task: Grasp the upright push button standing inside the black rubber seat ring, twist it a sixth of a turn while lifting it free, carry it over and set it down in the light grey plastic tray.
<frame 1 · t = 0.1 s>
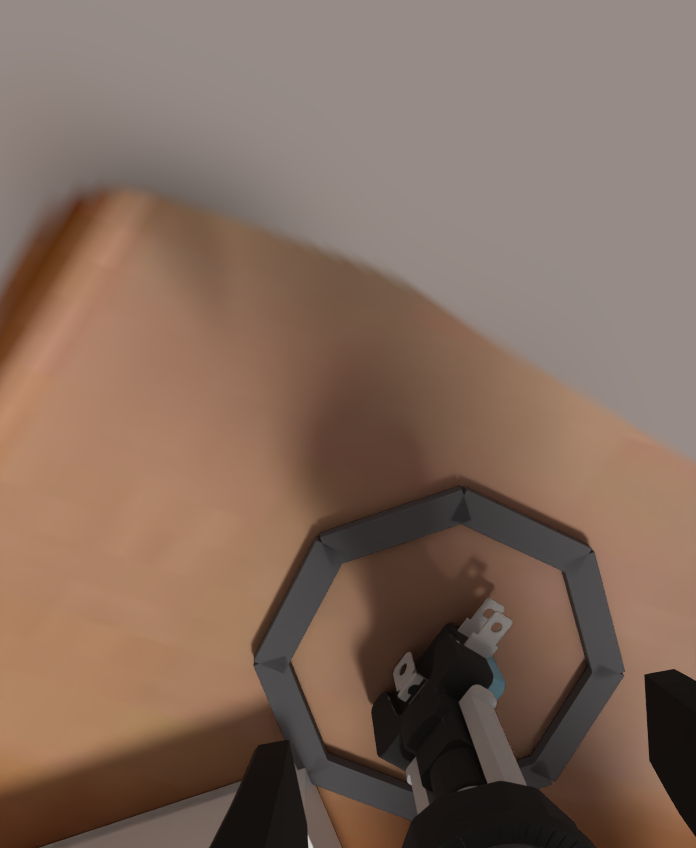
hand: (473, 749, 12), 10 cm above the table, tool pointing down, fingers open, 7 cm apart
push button: (440, 660, 23), on the table
seat ring: (441, 662, 23), on the table
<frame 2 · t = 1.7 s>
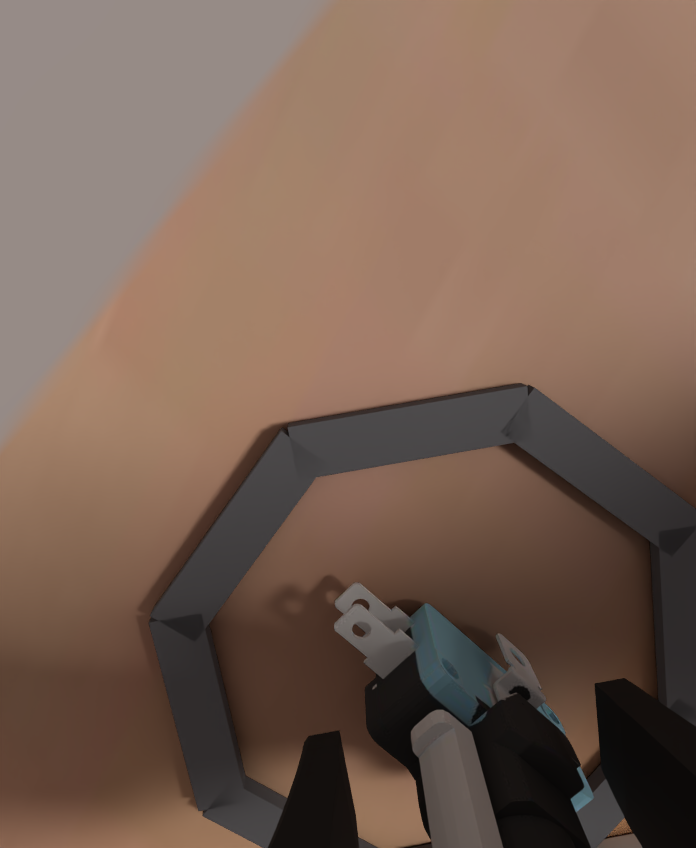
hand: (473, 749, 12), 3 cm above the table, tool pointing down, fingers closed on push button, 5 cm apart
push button: (445, 658, 15), on the table, touching gripper
seat ring: (442, 661, 15), on the table
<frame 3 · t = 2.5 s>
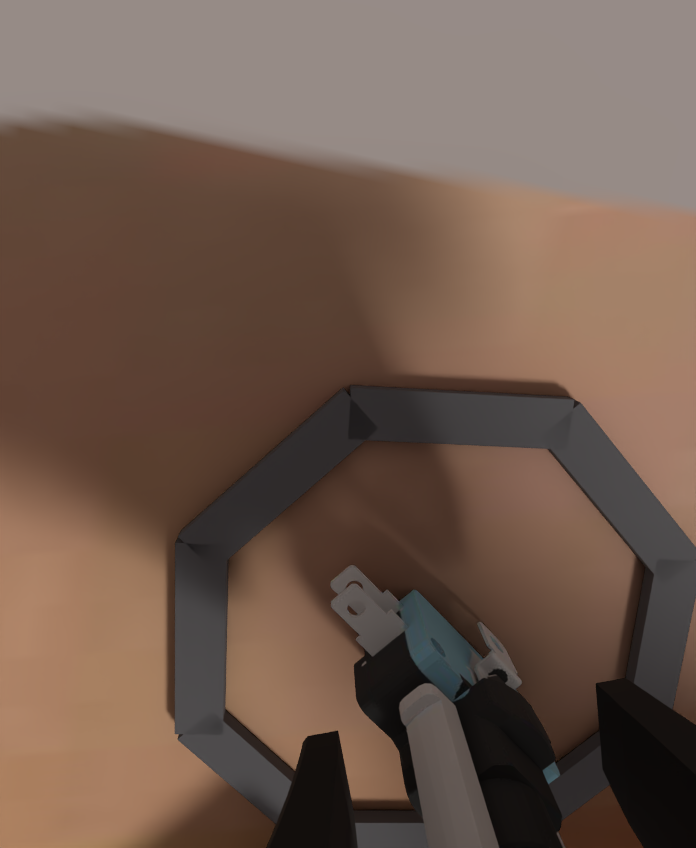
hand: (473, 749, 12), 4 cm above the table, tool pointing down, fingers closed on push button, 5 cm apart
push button: (427, 643, 16), on the table, touching gripper
seat ring: (434, 639, 16), on the table
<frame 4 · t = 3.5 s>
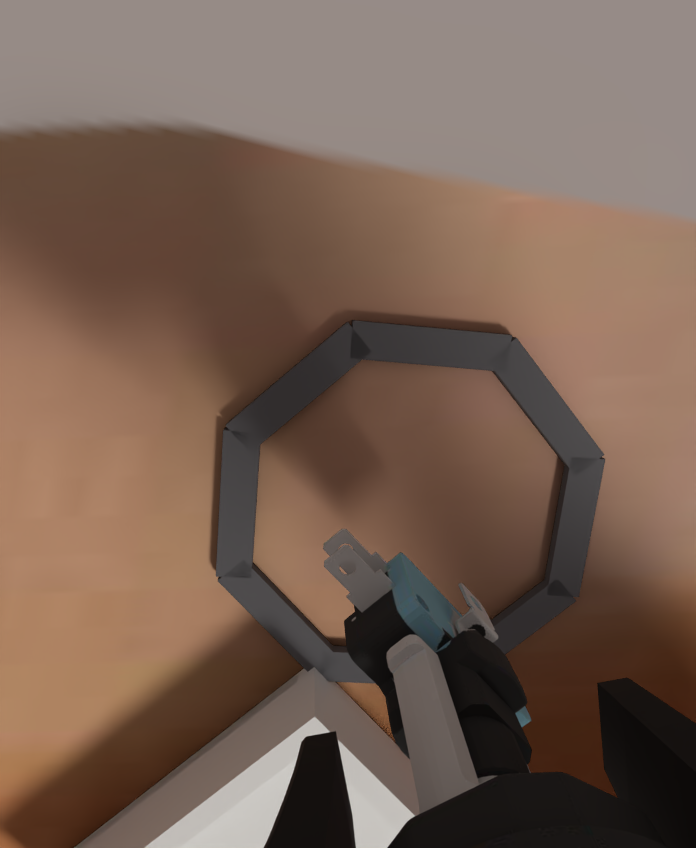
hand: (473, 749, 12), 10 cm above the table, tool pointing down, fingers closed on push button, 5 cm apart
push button: (412, 603, 17), point 5 cm above the table, touching gripper
seat ring: (408, 513, 21), on the table
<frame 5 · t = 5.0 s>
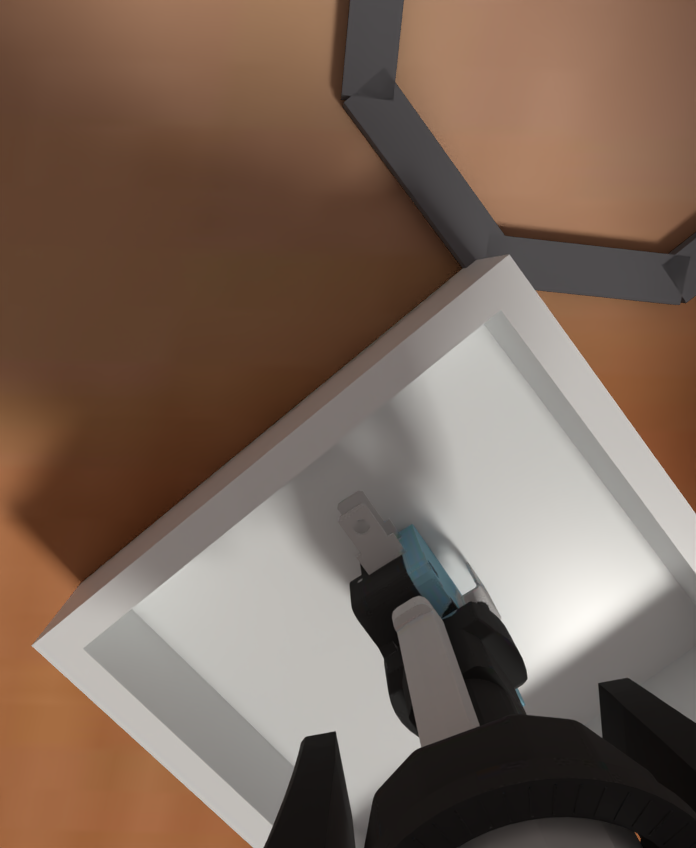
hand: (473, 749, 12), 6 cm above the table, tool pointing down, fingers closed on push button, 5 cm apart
tray: (424, 604, 17), on the table
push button: (416, 579, 17), resting in tray, touching gripper
seat ring: (624, 15, 14), on the table
when the fingers open (5 cm above the table, at t = 5.7 s): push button stays where it is, resting on tray.
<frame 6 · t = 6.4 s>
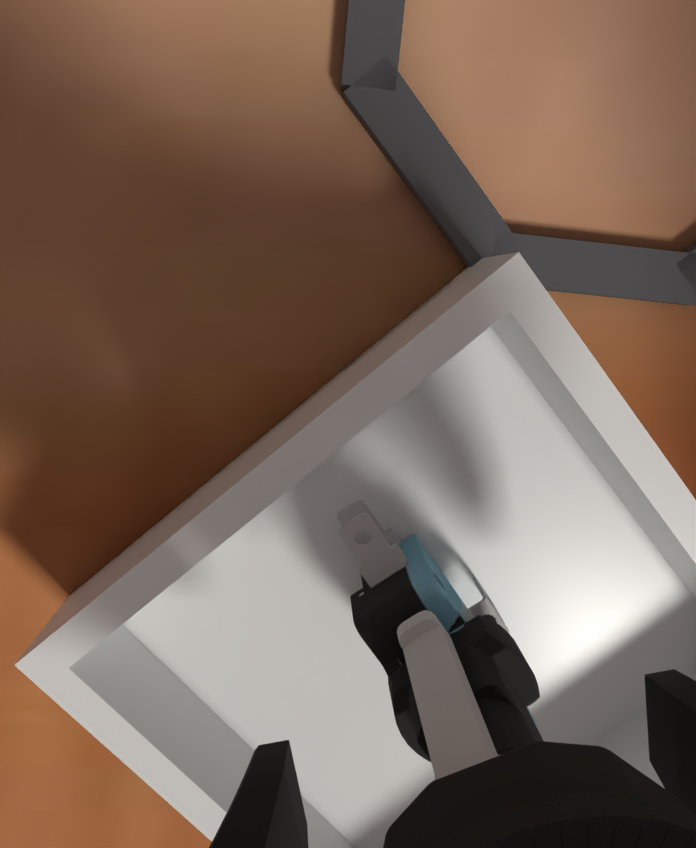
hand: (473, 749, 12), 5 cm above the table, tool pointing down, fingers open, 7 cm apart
tray: (427, 617, 17), on the table
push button: (418, 591, 16), resting on tray
seat ring: (638, 0, 14), on the table
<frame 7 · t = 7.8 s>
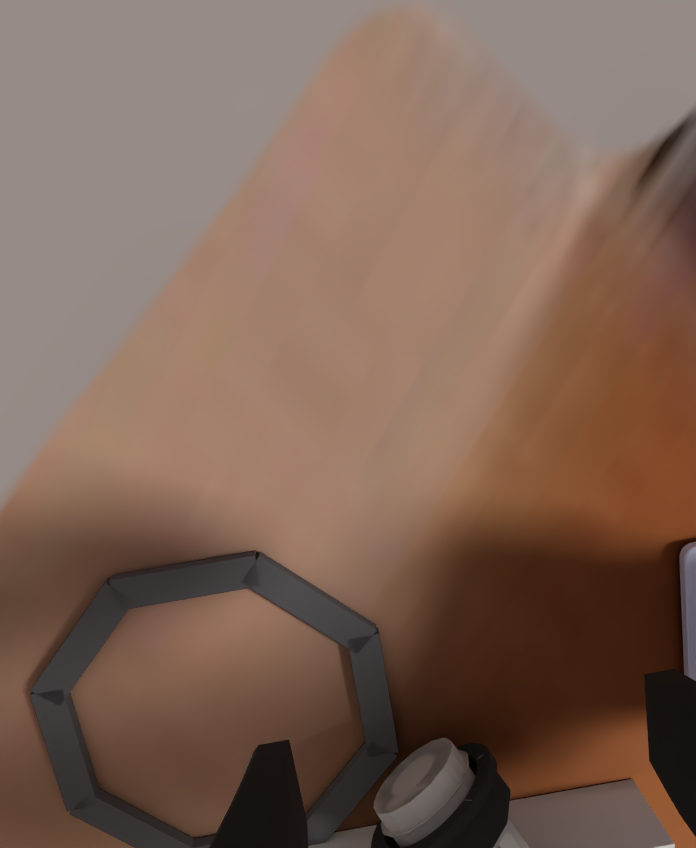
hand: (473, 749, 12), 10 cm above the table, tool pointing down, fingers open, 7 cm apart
seat ring: (221, 717, 23), on the table
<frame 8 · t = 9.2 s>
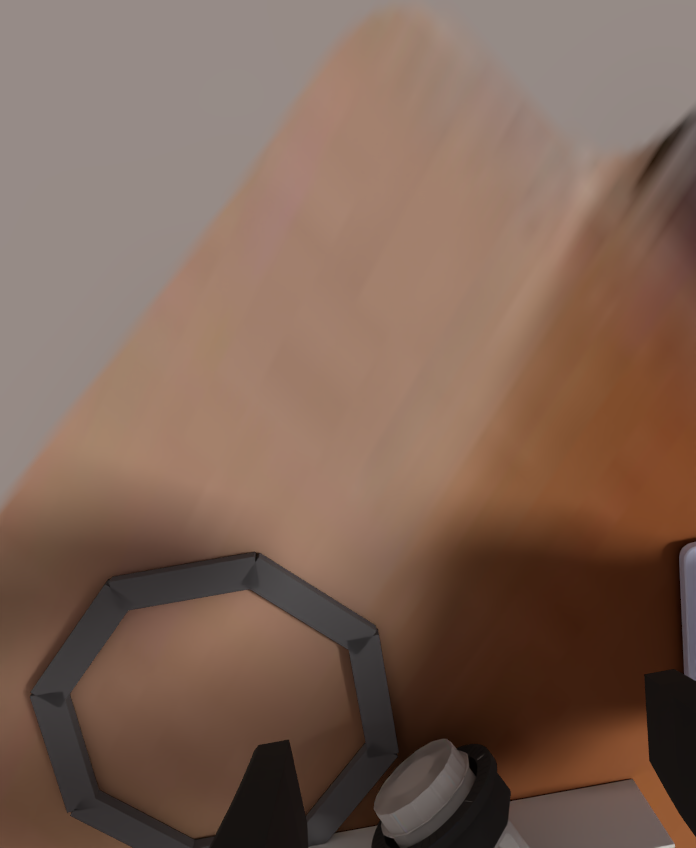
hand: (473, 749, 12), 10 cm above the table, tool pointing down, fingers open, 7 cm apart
seat ring: (221, 718, 23), on the table
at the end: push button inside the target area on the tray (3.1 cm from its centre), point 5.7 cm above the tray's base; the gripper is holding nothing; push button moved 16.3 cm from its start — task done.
